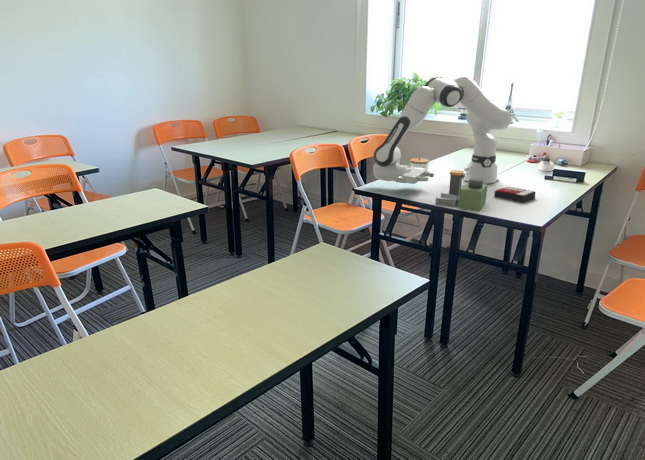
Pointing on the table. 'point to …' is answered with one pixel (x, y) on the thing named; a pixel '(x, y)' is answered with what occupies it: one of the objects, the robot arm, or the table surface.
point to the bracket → (448, 199)
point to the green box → (473, 195)
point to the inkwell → (546, 164)
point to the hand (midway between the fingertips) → (430, 177)
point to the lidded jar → (419, 162)
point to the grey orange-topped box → (456, 181)
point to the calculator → (515, 194)
